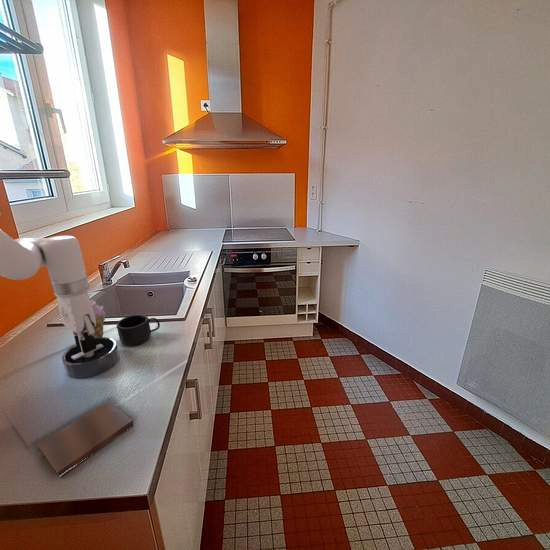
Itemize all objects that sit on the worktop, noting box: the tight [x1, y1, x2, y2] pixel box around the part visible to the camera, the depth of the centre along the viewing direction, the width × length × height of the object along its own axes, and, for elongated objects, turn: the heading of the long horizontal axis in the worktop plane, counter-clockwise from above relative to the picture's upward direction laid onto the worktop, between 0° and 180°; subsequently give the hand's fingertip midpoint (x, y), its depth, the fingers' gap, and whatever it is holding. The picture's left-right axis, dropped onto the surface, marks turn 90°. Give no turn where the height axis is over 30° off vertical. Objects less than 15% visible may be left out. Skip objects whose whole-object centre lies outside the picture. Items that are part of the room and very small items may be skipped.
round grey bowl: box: [61, 336, 120, 380], centre depth 83 cm, size 13×13×5 cm
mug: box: [116, 314, 161, 347], centre depth 95 cm, size 12×9×7 cm
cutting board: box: [36, 400, 135, 476], centre depth 61 cm, size 14×10×2 cm
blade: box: [71, 330, 104, 360], centre depth 81 cm, size 8×3×8 cm, turn 144°
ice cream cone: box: [90, 299, 107, 338], centre depth 91 cm, size 7×6×15 cm
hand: (86, 348), depth 82 cm, fingers closed on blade, 2 cm apart
